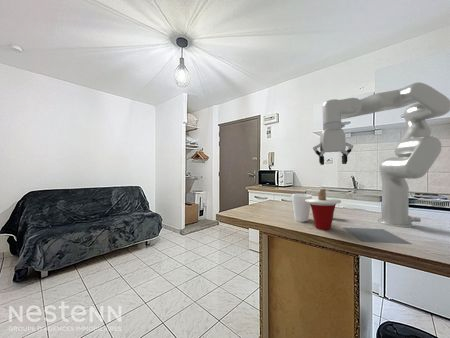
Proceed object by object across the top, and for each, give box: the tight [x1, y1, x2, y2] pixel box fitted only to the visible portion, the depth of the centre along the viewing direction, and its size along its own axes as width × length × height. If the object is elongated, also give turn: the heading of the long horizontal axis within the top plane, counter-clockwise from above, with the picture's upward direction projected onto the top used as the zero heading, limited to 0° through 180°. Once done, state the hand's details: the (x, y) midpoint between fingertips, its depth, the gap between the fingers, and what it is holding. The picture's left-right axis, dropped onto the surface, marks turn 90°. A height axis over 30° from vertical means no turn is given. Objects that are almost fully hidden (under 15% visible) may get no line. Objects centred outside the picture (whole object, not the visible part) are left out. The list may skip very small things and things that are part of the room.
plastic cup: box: [309, 203, 337, 231], centre depth 85 cm, size 11×11×12 cm
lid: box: [305, 189, 342, 205], centre depth 86 cm, size 14×14×5 cm
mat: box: [342, 226, 412, 245], centre depth 77 cm, size 16×16×1 cm
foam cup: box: [291, 193, 313, 223], centre depth 99 cm, size 10×9×13 cm
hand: (333, 164), depth 91 cm, fingers open, 9 cm apart
